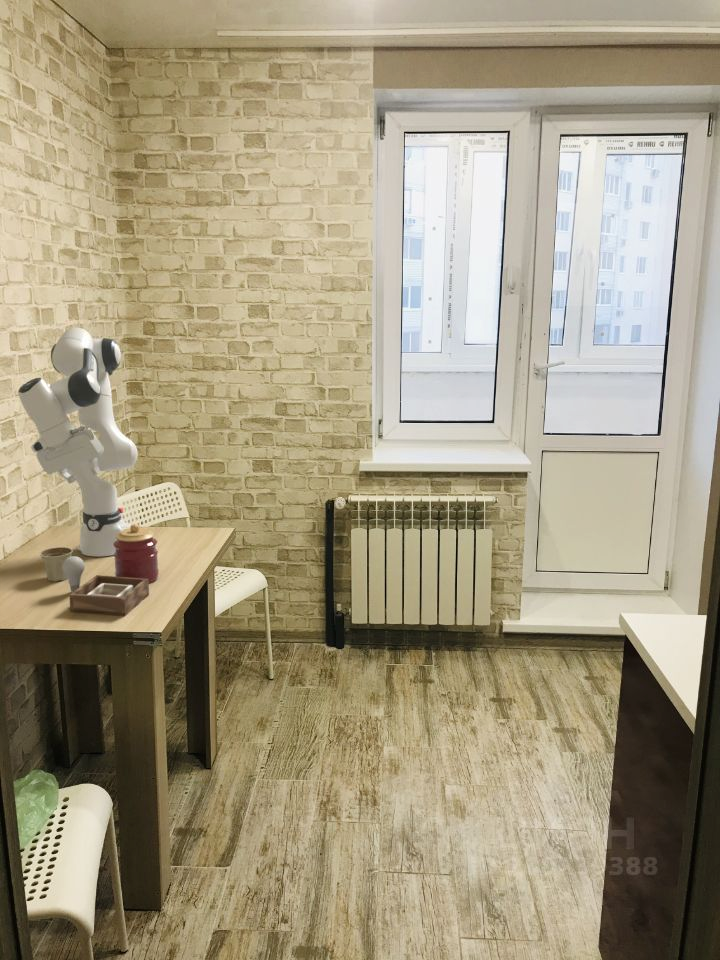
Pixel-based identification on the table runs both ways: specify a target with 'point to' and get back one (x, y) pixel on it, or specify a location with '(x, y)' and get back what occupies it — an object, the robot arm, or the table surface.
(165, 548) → the table surface
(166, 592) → the table surface
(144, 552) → the canister
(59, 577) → the flower pot
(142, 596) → the socket box
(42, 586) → the table surface
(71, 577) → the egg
